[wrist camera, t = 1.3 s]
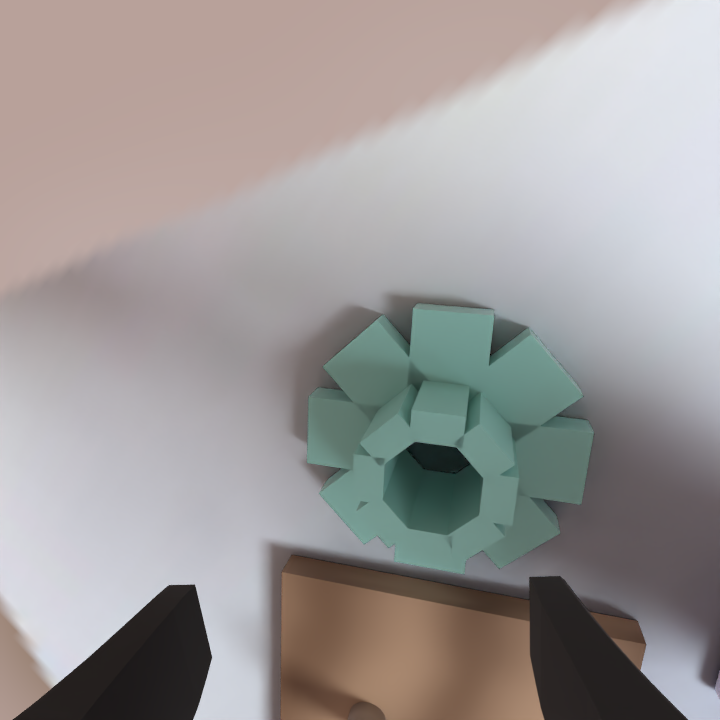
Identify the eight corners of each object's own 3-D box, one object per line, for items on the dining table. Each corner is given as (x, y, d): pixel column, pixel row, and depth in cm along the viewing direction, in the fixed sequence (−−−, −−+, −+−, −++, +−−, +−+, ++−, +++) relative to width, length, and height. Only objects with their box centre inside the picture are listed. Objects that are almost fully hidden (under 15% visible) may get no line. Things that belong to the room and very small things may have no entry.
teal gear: (605, 319, 18) (638, 348, 14) (561, 572, 21) (578, 657, 17) (320, 294, 20) (279, 314, 16) (314, 528, 23) (277, 594, 19)
